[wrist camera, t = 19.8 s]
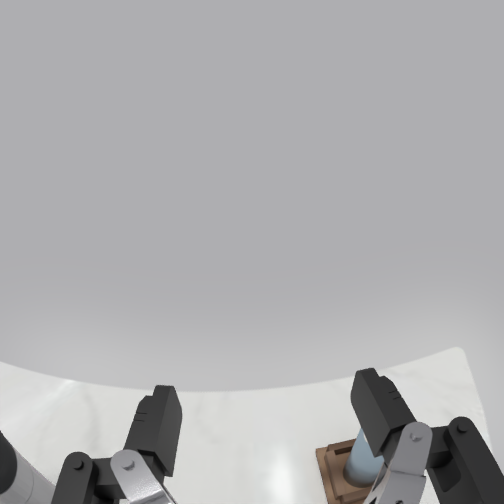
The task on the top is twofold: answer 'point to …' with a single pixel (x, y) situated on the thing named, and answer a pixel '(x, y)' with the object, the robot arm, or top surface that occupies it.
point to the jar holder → (339, 474)
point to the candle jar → (361, 464)
